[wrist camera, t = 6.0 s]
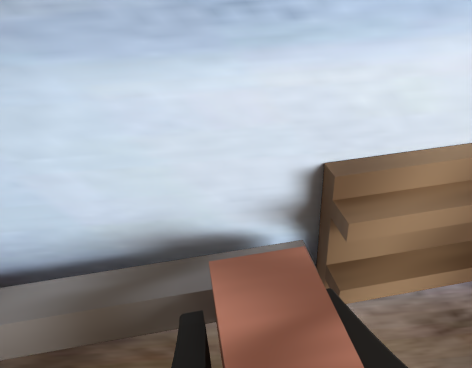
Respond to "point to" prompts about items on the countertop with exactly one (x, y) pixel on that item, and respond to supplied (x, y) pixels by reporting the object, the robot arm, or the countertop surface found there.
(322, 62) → the countertop surface
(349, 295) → the track board
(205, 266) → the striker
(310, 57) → the countertop surface
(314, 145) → the countertop surface
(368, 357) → the robot arm
